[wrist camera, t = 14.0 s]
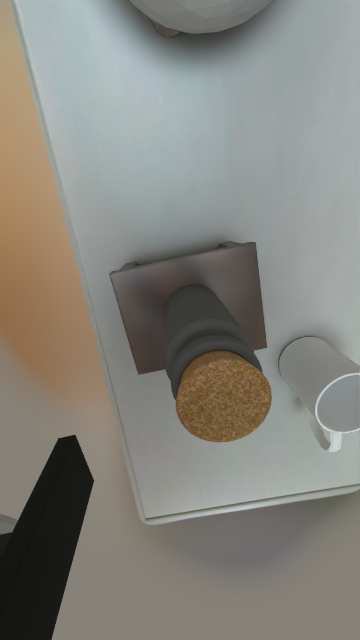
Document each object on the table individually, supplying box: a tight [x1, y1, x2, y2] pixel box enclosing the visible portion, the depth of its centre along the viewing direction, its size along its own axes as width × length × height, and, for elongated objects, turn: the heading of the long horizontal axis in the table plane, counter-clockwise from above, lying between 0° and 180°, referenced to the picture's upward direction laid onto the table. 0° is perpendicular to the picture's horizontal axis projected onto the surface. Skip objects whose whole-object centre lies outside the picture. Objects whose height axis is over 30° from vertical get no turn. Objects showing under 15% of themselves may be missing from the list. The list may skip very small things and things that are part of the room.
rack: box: [109, 241, 267, 374], centre depth 32 cm, size 14×11×9 cm
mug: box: [279, 337, 360, 452], centre depth 36 cm, size 12×8×10 cm, turn 0°
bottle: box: [164, 285, 272, 442], centre depth 20 cm, size 6×6×15 cm
